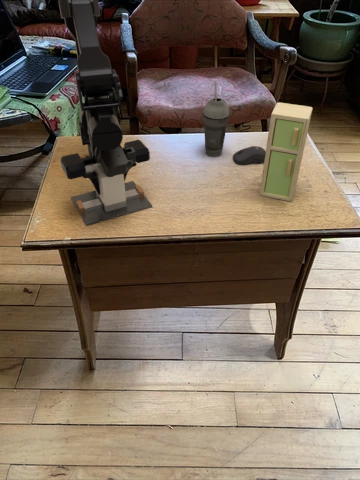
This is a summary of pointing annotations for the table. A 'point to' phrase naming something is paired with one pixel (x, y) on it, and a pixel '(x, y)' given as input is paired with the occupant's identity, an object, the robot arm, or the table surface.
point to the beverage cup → (215, 124)
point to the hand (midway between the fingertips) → (110, 191)
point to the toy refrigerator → (284, 150)
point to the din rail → (96, 213)
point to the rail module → (110, 189)
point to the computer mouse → (250, 155)
